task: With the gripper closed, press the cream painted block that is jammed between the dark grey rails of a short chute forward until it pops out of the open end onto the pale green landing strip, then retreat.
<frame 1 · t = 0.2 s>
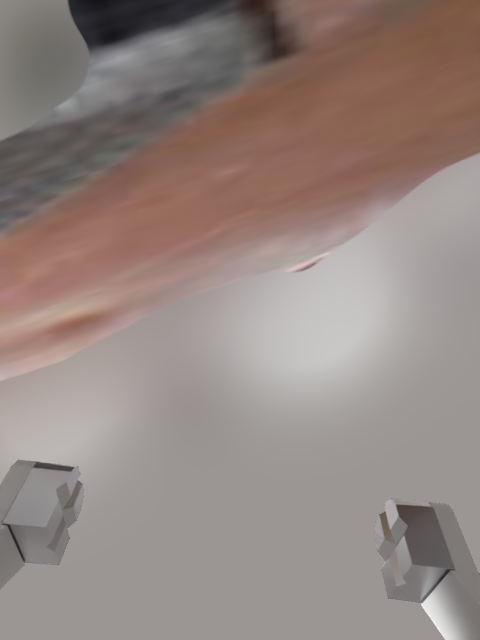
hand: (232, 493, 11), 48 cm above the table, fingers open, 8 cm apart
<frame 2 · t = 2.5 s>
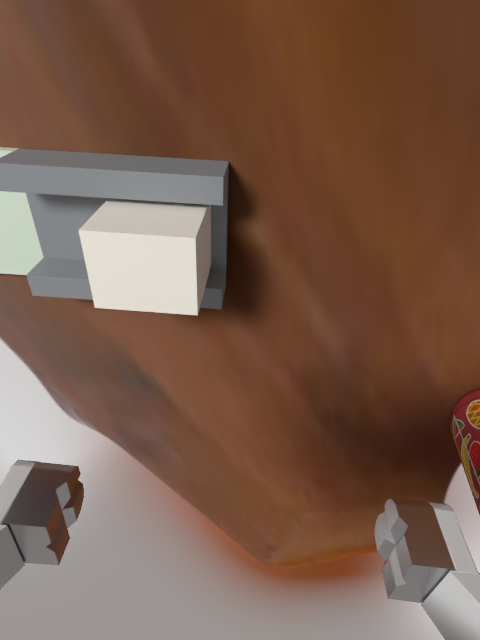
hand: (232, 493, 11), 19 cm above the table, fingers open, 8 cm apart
block: (154, 250, 24), point 4 cm above the table, slide at 0.0 cm
chute: (80, 219, 27), on the table
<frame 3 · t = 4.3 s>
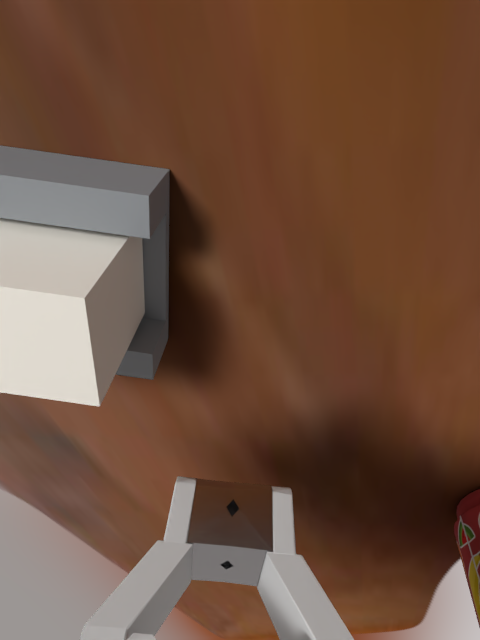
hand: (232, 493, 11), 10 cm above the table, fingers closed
block: (46, 296, 16), point 4 cm above the table, slide at 0.0 cm
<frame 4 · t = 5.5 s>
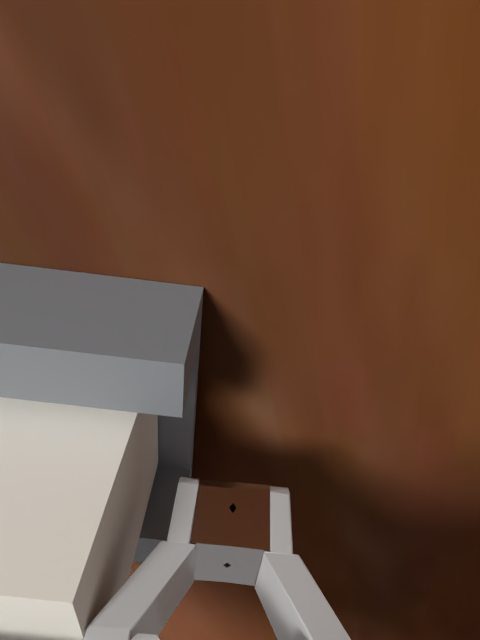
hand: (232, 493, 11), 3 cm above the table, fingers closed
block: (12, 492, 10), point 4 cm above the table, slide at 0.1 cm, touching gripper
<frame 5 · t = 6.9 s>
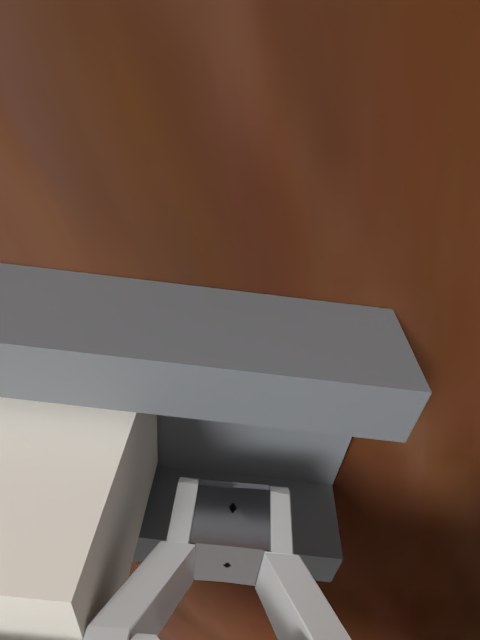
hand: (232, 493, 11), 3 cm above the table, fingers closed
block: (11, 492, 10), point 4 cm above the table, slide at 5.2 cm, touching gripper
chute: (45, 385, 13), on the table
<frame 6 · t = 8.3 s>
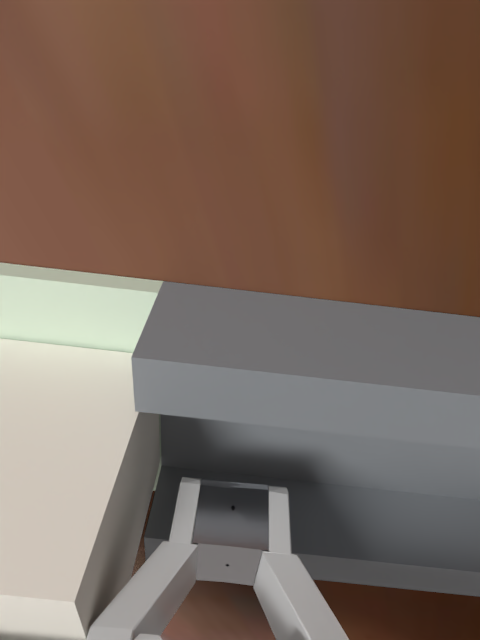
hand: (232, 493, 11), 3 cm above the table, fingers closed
block: (13, 492, 10), point 4 cm above the table, slide at 12.0 cm, touching gripper
chute: (255, 408, 13), on the table
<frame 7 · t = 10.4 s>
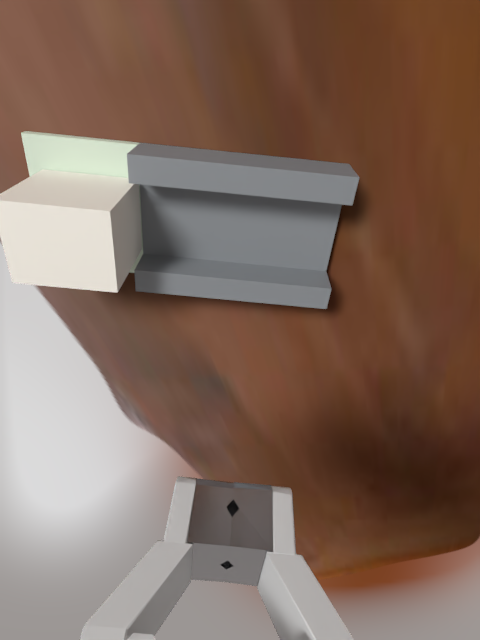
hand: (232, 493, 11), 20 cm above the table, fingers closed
block: (78, 228, 24), point 4 cm above the table, slide at 12.0 cm
chute: (187, 216, 27), on the table
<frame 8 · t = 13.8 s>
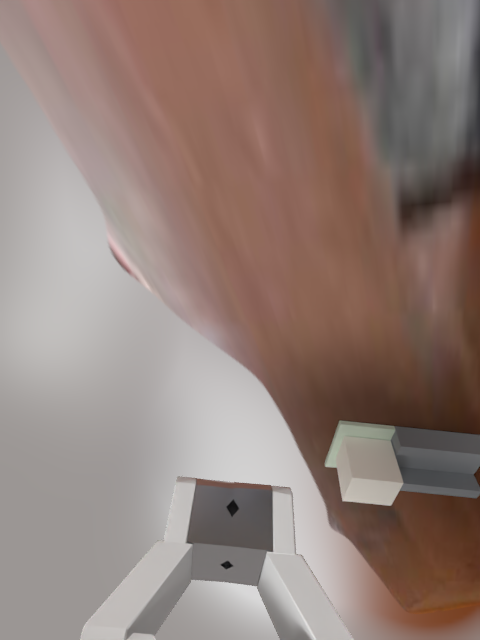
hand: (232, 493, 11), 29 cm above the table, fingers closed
block: (367, 470, 51), point 4 cm above the table, slide at 12.0 cm
chute: (406, 450, 54), on the table
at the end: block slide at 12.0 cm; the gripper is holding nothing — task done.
